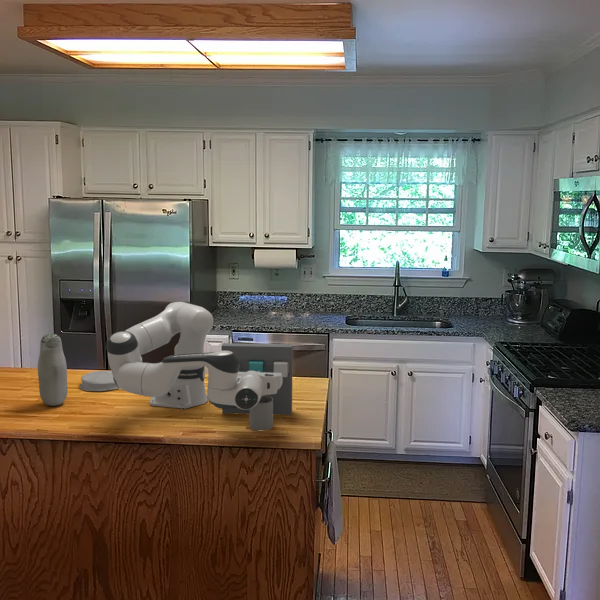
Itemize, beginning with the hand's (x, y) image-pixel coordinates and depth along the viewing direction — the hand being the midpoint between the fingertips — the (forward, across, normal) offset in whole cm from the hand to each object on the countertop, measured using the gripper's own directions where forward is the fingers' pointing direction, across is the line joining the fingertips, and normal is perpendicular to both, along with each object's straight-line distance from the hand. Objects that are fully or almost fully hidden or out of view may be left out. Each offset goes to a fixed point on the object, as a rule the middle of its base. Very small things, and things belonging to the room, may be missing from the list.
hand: (255, 373), depth 230 cm
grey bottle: (+11, -79, -18) cm, 82 cm away
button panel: (+8, 0, -18) cm, 19 cm away
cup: (-7, +3, -18) cm, 19 cm away
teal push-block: (+6, 0, -2) cm, 6 cm away
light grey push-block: (+5, +9, -2) cm, 10 cm away
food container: (+37, -69, -18) cm, 80 cm away
